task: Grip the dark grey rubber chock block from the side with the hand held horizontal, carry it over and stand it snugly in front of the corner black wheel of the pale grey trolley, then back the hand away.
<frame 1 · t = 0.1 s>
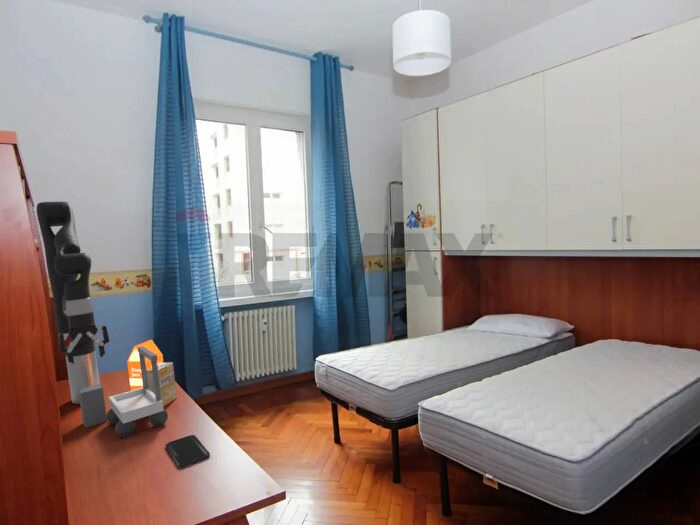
hand: (87, 359, 146), 17 cm above the table, tool pointing down, fingers open, 8 cm apart
trolley: (138, 424, 133), on the table
supplement box: (164, 403, 148), on the table
phone: (187, 453, 113), on the table
chock: (95, 422, 137), on the table
orange juice: (150, 397, 155), on the table
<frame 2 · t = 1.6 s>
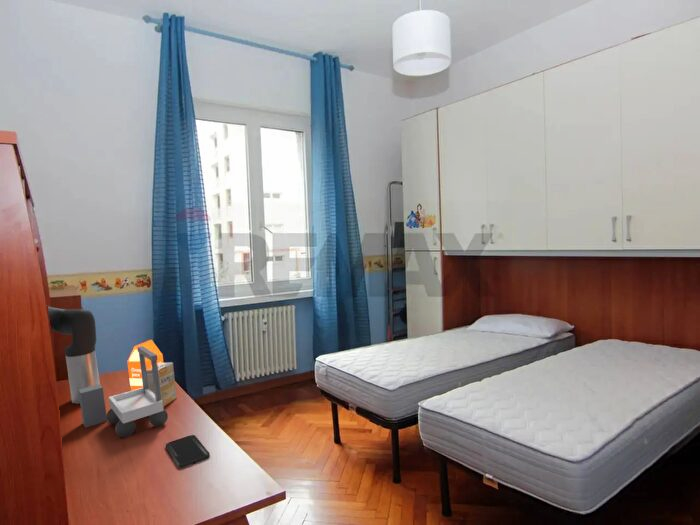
hand: (42, 376, 128), 18 cm above the table, tool horizontal, fingers open, 8 cm apart
nothing on the table moved.
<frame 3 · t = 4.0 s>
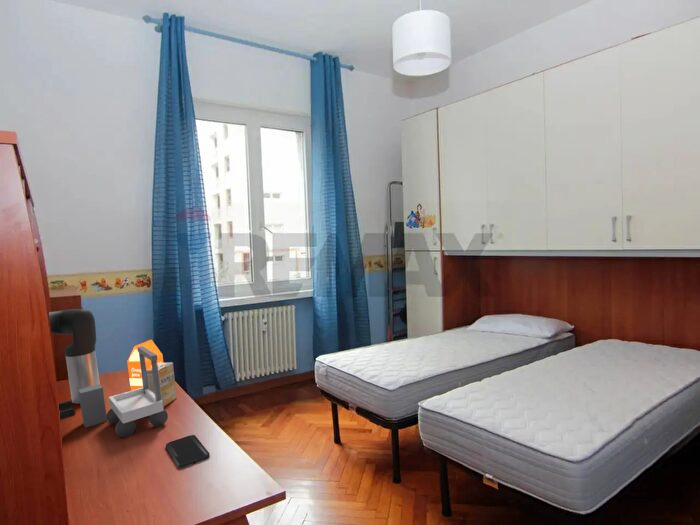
hand: (73, 407, 133), 6 cm above the table, tool horizontal, fingers open, 8 cm apart
nothing on the table moved.
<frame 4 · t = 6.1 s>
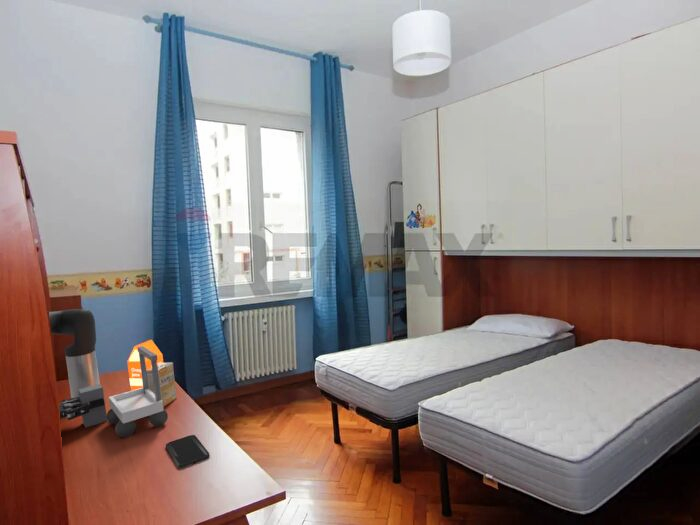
hand: (102, 399, 138), 7 cm above the table, tool horizontal, fingers closed on chock, 4 cm apart
chock: (95, 422, 137), on the table, touching gripper
everything else where it was.
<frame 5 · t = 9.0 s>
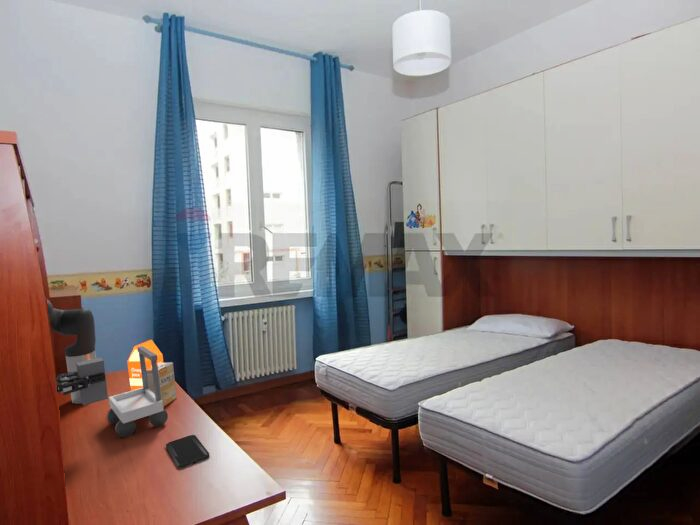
hand: (102, 374, 122), 19 cm above the table, tool horizontal, fingers closed on chock, 4 cm apart
chock: (94, 399, 121), point 13 cm above the table, touching gripper
everything else where it was.
when the fingers open (8 cm above the table, at t = 12.2 s): chock drops 1 cm, on the table.
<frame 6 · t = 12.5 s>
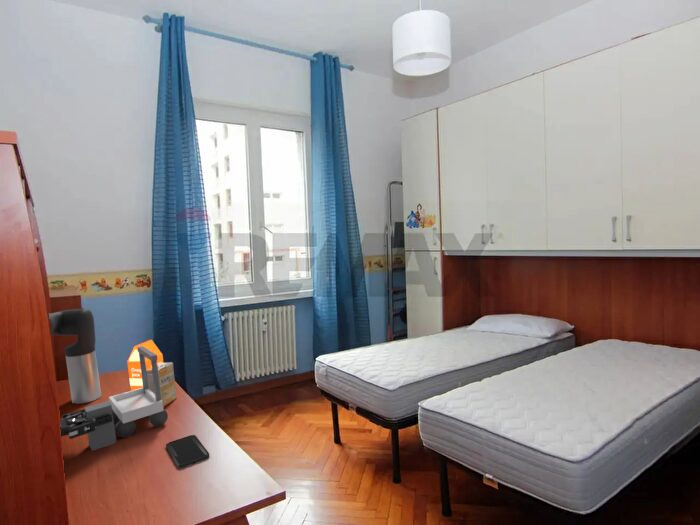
hand: (108, 413, 122), 8 cm above the table, tool horizontal, fingers open, 6 cm apart
chock: (102, 444, 122), on the table
everything else where it was.
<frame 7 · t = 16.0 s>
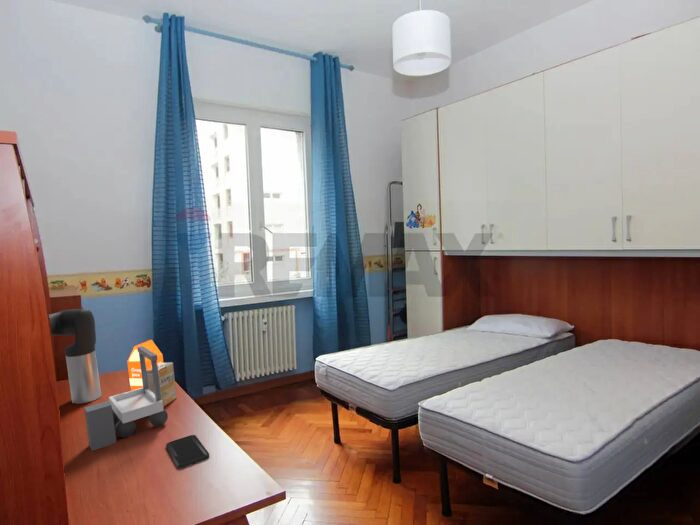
hand: (51, 417, 114), 12 cm above the table, tool horizontal, fingers open, 8 cm apart
nothing on the table moved.
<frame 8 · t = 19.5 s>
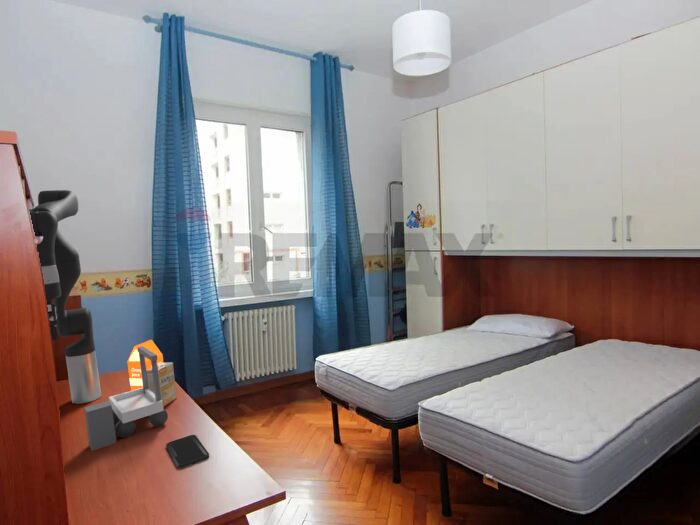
hand: (51, 338, 124), 30 cm above the table, tool pointing down, fingers open, 8 cm apart
nothing on the table moved.
at the end: chock 0.4 cm from the target spot, on the table; chock tilted 0°; the gripper is holding nothing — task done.
